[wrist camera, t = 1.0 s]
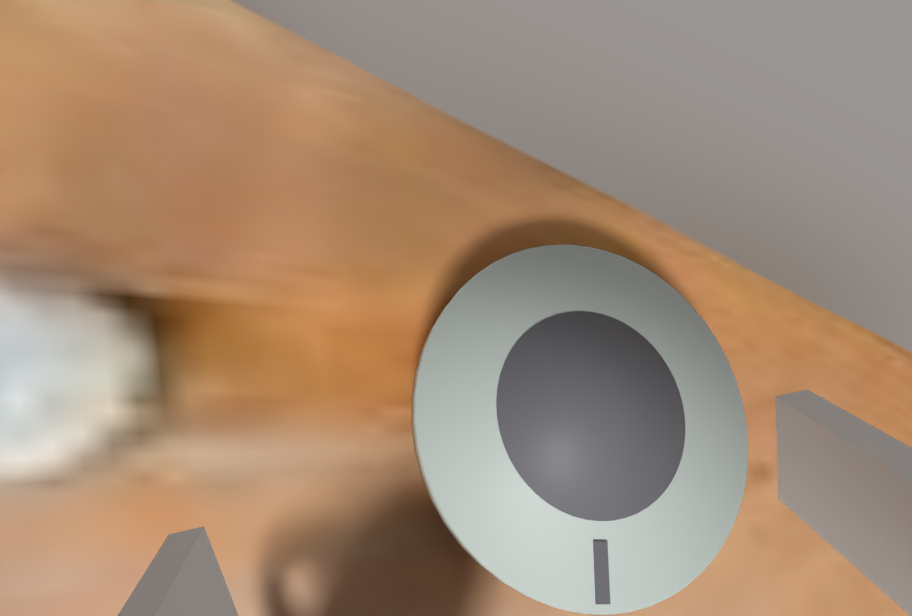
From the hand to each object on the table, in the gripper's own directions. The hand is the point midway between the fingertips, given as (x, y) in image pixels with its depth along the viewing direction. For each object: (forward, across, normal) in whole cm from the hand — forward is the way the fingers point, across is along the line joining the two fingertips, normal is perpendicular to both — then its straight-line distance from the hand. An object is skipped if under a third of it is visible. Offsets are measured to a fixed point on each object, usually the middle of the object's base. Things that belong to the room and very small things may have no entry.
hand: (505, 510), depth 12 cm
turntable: (+18, +7, -8) cm, 21 cm away
